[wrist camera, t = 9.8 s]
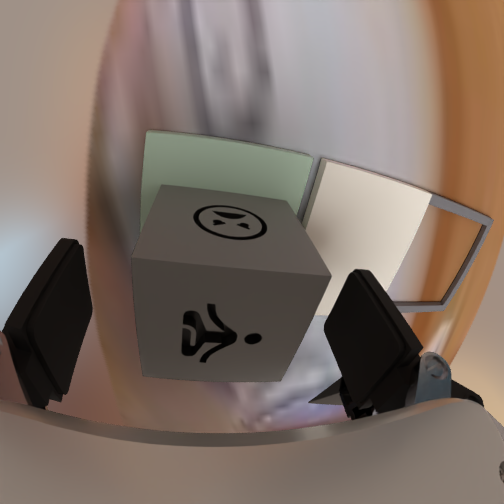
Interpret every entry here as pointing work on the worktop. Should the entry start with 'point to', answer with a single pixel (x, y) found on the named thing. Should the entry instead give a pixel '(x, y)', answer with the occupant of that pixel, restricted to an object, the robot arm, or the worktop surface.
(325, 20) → the worktop surface
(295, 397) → the worktop surface
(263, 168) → the game board
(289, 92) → the worktop surface
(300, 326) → the dice cube
